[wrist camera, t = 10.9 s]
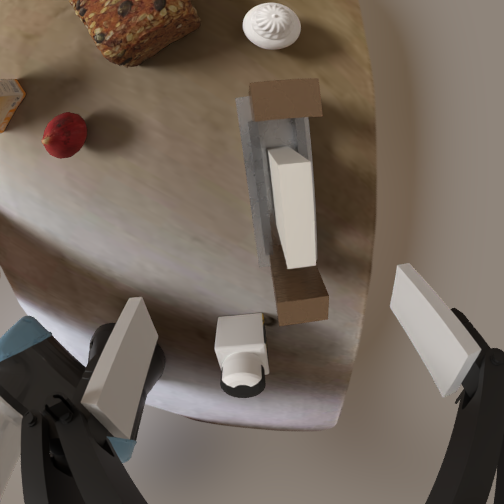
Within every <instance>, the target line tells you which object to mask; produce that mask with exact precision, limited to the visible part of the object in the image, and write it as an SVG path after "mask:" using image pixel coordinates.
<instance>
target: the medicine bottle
mask: <svg viewBox="0 0 504 504" xmlns="http://www.w3.org/2000/svg"><path fill="white" fill-rule="evenodd" d="M214 349H215V352H216V355H217V359H218V362H219V365H220V368H221V388H222V389H223V391H224V392H226V393H227V394H229V395H231V396H233V397H238V398H249V397H253V396H256V395H258V394H260V393H261V392H262V391H263V390H264V388H265V375H267V374H269V363H268V351H267V340H266V332H265V324H264V316H263V313H254V314H244V315H234V316H222V317H218V322H217V330H216V339H215V348H214Z"/></svg>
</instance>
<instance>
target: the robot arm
mask: <svg viewBox="0 0 504 504" xmlns="http://www.w3.org/2000/svg"><path fill="white" fill-rule="evenodd" d="M390 308H391V310H392V311H393V313H394V314H395V316H396V317H397V319H398V321H399V322H400V324H401V325H402V327H403V329H404V330H405V332H406V333H407V335H408V337H409V338H410V340H411V342H412V343H413V345H414V347H415V348H416V350H417V352H418V353H419V355H420V357H421V358H422V360H423V362H424V364H425V366H426V367H427V369H428V371H429V373H430V375H431V376H432V378H433V380H434V382H435V384H436V386H437V387H438V389H439V391H440V393H441V395H442V397H443V398H444V397H446V396H448V395H450V394H453V393H455V392H456V391H457V389H458V388H459V386H460V385H461V384H462V386H463V387H464V390H463V391H462V392H461V394H460V395H459V397H458V398H457V399H456V402H455V403H456V404H457V403H458V401H459V400H460V404H459V408H458V412H457V417H456V420H455V424H454V428H453V432H452V435H451V439H450V442H449V445H448V448H447V451H446V454H445V458H444V460H443V463H442V465H441V468H440V471H439V473H438V476H437V478H436V481H435V483H434V486H433V488H432V490H431V492H430V495H429V497H428V499H427V501H426V503H425V504H486V502H487V499H488V496H489V493H490V490H491V486H492V483H493V480H494V476H495V472H496V469H497V479H496V489H495V497H494V504H504V352H503V351H502V350H500V349H498V348H492V349H491V348H490V347H489V346H488V344H487V343H486V342H485V340H484V339H483V338H482V336H481V335H480V334H479V333H478V331H477V330H476V329H475V328H474V327H473V325H472V324H471V323H470V322H469V320H468V319H467V318H466V316H465V315H464V314H463V313H462V312H460V311H459V310H457V309H456V308H452V309H450V308H449V307H448V306H447V305H446V304H445V302H444V301H443V300H442V299H441V298H440V297H439V295H438V294H437V293H436V292H435V291H434V290H433V289H432V287H431V286H430V285H429V284H428V283H427V282H426V281H425V280H424V279H423V277H422V276H421V275H420V274H419V273H418V272H417V271H416V270H415V269H414V268H413V267H412V266H411V265H410V264H409V263H407V264H400V265H397V270H396V276H395V282H394V288H393V293H392V298H391V303H390ZM157 339H158V334H157V332H156V329H155V327H154V325H153V322H152V320H151V318H150V315H149V313H148V310H147V308H146V305H145V303H144V300H143V298H142V297H134V298H129V300H128V301H127V303H126V305H125V307H124V309H123V311H122V313H121V315H120V317H119V319H118V321H117V323H109V324H105V325H102V326H100V327H99V328H98V329H97V330H96V331H95V333H94V335H93V337H92V339H91V341H90V351H89V358H88V364H87V366H86V367H85V366H83V365H82V364H81V363H80V362H79V361H78V360H77V359H76V358H75V357H74V356H72V355H71V354H70V353H69V352H68V351H67V350H66V349H65V348H64V347H63V346H62V345H61V344H60V343H59V342H58V341H57V340H56V339H55V338H54V337H53V336H52V333H51V332H48V331H47V330H46V329H45V328H44V327H43V326H42V325H41V324H40V323H39V322H38V321H37V320H36V319H35V318H34V317H32V316H24V317H22V318H21V319H20V320H19V321H18V322H17V323H15V324H14V325H13V326H12V327H11V328H10V329H9V330H8V331H7V332H6V333H5V334H4V335H3V336H2V337H1V338H0V502H1V499H2V496H3V494H4V491H5V489H6V486H7V484H8V481H9V479H10V477H11V474H12V472H13V469H14V468H15V465H16V463H17V461H18V459H19V457H20V455H21V473H22V485H23V494H24V502H25V504H148V503H147V502H146V501H145V499H144V498H143V496H142V495H141V493H140V492H139V490H138V489H137V487H136V486H135V484H134V483H133V481H132V479H131V478H130V476H129V474H128V473H127V471H126V469H125V468H124V466H123V464H122V463H125V462H127V461H128V460H129V459H130V458H131V455H132V452H133V449H134V446H135V444H136V438H137V433H138V429H139V425H140V421H141V417H142V413H143V409H144V405H145V401H146V397H147V394H148V393H149V392H150V390H151V389H152V388H153V386H154V385H155V383H156V382H157V380H158V379H159V378H160V377H161V376H162V373H163V370H164V366H165V356H164V353H163V351H162V350H161V348H160V347H159V346H158V344H157V343H156V342H157Z"/></svg>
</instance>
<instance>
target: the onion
mask: <svg viewBox="0 0 504 504" xmlns="http://www.w3.org/2000/svg"><path fill="white" fill-rule="evenodd" d="M86 137H87V127H86V123H85V121H84V120H83V119H82V118H81V117H80V116H79V114H74V113H70V112H66V113H63V114H60V115H58V116H56V117H55V118H53V119H52V120H51V121H50V122H49V123H48V125H47V127H46V129H45V131H44V135H43V139H42V144H44V146H45V148H46V150H47V151H48V153H49V154H50V155H52V156H54V157H57V158H60V159H61V158H68V157H71V156H73V155H74V154H75V153H77V152H78V151H79V150H80V149H81V148H82V146H83V145H84V143H85V140H86Z"/></svg>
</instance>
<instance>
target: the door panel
mask: <svg viewBox="0 0 504 504" xmlns="http://www.w3.org/2000/svg"><path fill="white" fill-rule="evenodd" d="M267 155H268V163H269V171H270V180H271V189H272V197H273V206H274V216H275V222H276V226H277V229H278V233H279V237H280V241H281V245H282V248H283V252H284V256H285V260H286V264H287V268H288V269H293V268H300V267H308V266H315V265H316V248H315V221H314V202H313V185H312V171H311V162H310V161H309V160H307V159H306V158H305V157H303V156H302V155H300V154H299V153H297V152H296V151H294V150H293V149H292V148H290V147H289V146H284V147H274V148H267Z"/></svg>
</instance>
